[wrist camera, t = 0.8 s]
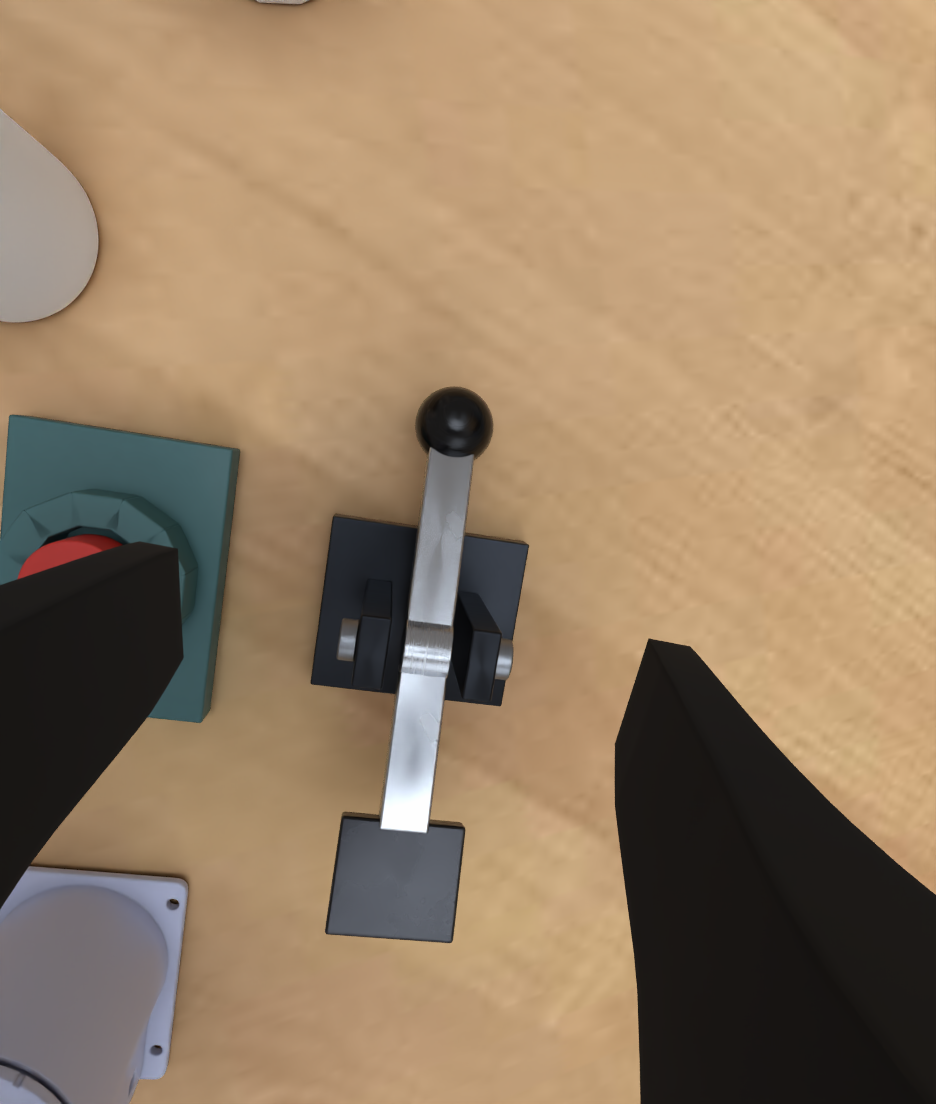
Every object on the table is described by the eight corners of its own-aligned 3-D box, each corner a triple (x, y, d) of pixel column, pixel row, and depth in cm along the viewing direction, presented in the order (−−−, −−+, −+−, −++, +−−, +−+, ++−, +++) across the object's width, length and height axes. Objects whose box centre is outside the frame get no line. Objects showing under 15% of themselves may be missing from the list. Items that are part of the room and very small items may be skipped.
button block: (210, 710, 29) (188, 742, 26) (7, 688, 28) (-42, 718, 25) (240, 449, 28) (221, 449, 25) (27, 415, 27) (-21, 411, 24)
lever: (446, 923, 24) (456, 957, 21) (327, 914, 23) (322, 947, 20) (505, 413, 27) (520, 384, 24) (402, 395, 26) (406, 364, 24)
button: (140, 637, 26) (122, 650, 24) (37, 624, 25) (11, 637, 24) (150, 541, 25) (132, 548, 24) (45, 526, 25) (19, 532, 23)
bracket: (497, 698, 30) (529, 774, 23) (313, 676, 29) (287, 749, 22) (525, 541, 30) (566, 571, 22) (334, 513, 29) (316, 535, 21)
